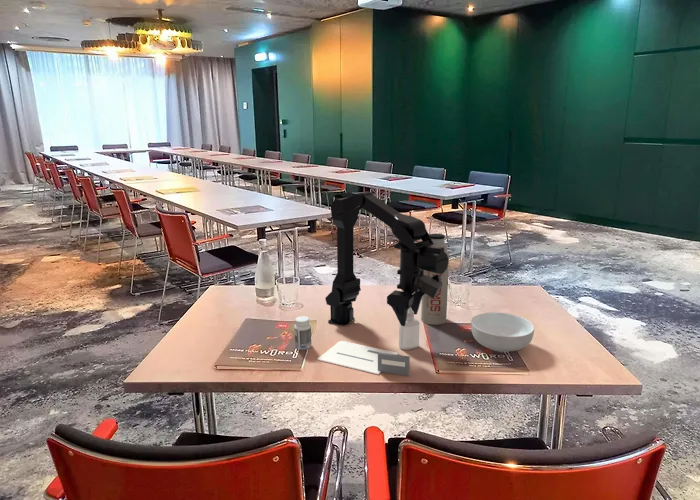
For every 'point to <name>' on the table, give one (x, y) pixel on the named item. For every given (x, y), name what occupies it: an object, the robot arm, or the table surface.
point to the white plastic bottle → (409, 332)
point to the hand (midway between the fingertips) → (409, 319)
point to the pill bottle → (302, 333)
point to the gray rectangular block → (393, 364)
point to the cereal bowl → (502, 331)
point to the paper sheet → (354, 356)
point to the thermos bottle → (437, 306)
